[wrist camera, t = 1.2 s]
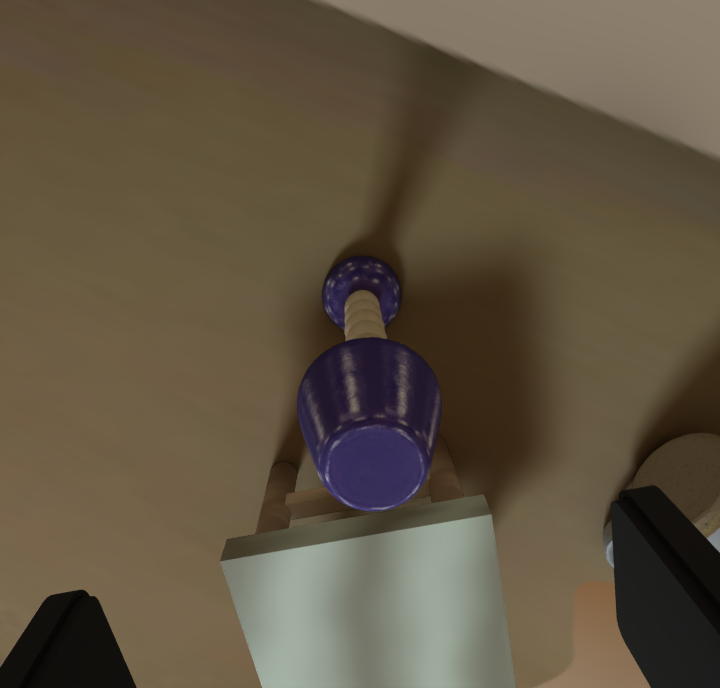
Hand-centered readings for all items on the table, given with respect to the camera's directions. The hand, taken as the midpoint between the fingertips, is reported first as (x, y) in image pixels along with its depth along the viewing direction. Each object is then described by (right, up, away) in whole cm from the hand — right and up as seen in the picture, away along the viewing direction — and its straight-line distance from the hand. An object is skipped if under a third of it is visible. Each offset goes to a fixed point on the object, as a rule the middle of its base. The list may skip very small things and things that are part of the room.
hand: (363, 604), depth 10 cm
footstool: (+1, -6, +25) cm, 26 cm away
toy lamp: (0, +7, +21) cm, 22 cm away
